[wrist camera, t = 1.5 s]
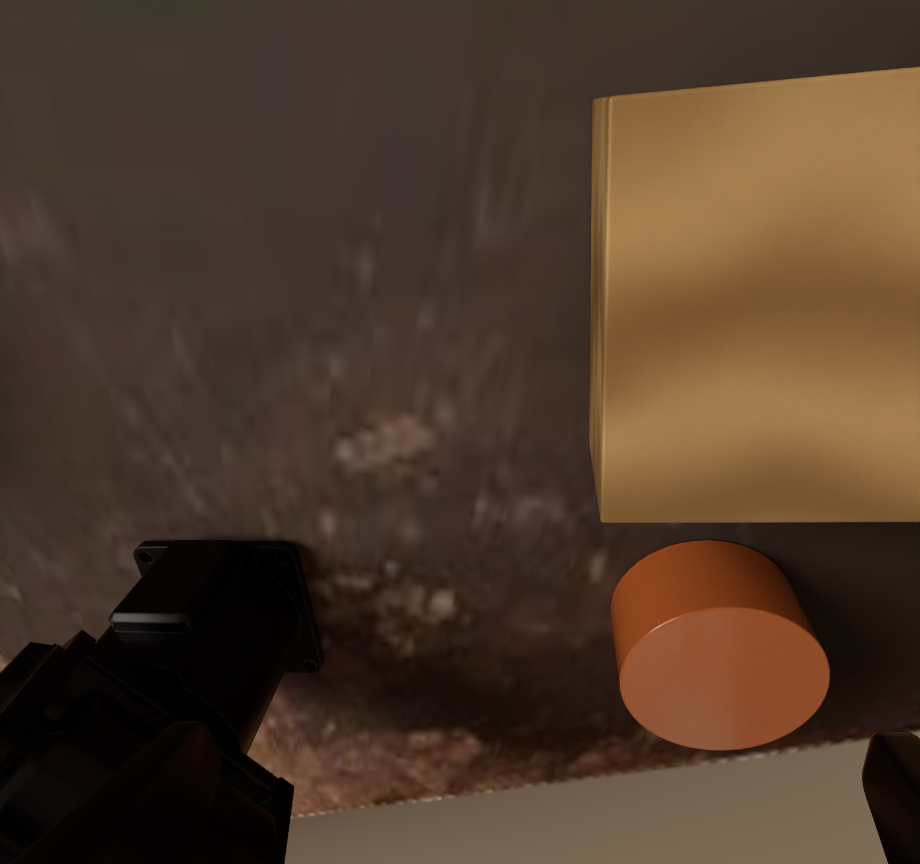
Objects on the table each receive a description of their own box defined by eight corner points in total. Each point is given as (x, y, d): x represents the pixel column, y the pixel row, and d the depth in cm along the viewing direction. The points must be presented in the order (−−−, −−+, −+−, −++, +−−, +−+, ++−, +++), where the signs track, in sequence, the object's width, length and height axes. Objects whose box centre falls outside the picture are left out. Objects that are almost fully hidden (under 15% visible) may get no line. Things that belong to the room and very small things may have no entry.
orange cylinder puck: (779, 675, 24) (812, 756, 21) (608, 670, 25) (617, 747, 22) (806, 539, 21) (848, 610, 18) (611, 538, 22) (622, 606, 19)
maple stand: (1072, 434, 19) (1215, 522, 15) (589, 443, 21) (600, 524, 17) (1227, 39, 14) (1492, 13, 10) (592, 98, 16) (608, 95, 12)
